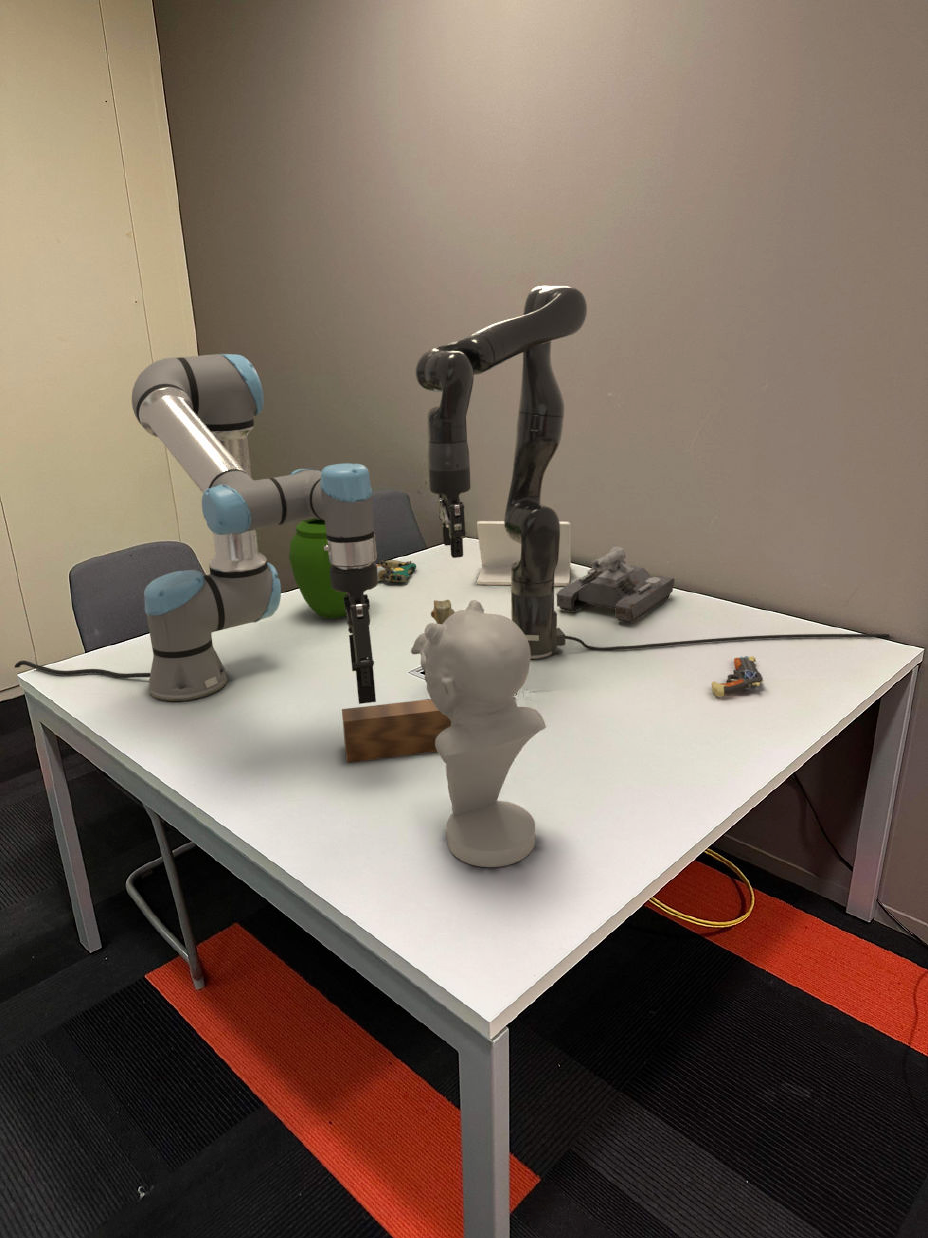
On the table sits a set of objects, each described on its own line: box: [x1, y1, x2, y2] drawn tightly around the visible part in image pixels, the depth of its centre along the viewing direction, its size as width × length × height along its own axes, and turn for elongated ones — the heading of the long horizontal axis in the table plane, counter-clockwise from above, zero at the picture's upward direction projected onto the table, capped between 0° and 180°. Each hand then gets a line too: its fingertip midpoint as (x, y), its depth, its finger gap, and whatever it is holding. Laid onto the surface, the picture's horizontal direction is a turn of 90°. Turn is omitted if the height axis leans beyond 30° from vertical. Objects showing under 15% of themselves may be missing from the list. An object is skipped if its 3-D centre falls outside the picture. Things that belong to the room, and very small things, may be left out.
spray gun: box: [376, 559, 417, 583], centre depth 241 cm, size 4×17×15 cm
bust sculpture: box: [410, 599, 547, 868], centre depth 121 cm, size 16×24×35 cm
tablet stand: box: [476, 520, 572, 587], centre depth 236 cm, size 18×25×17 cm
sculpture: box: [430, 599, 456, 624], centre depth 177 cm, size 6×7×15 cm
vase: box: [288, 519, 348, 620], centre depth 209 cm, size 20×20×24 cm
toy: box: [556, 546, 676, 624], centre depth 212 cm, size 25×20×15 cm
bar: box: [341, 698, 451, 764], centre depth 148 cm, size 25×5×8 cm, turn 101°
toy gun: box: [711, 655, 765, 698], centre depth 171 cm, size 3×19×10 cm
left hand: (363, 685), depth 143 cm, fingers open, 13 cm apart
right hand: (453, 550), depth 161 cm, fingers open, 8 cm apart
